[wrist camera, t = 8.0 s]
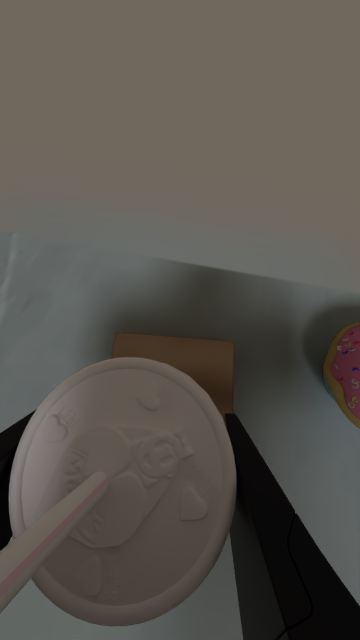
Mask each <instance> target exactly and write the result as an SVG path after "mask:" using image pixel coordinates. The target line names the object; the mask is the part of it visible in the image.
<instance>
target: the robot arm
mask: <svg viewBox="0 0 360 640" xmlns="http://www.w3.org/2000/svg"><path fill="white" fill-rule="evenodd" d="M36 410H37V409H36ZM36 410H35V411H36ZM35 411H33V412H32V413H30V414H29V415H27V416H26V417H24V418H23V419H21V420H20V421H18V422H17V423H15V424H13V425H12V426H10V427H9V428H7V429H6V430H4V431H3V432H1V433H0V551H1V550H2V549H3V548H4V547H6V546H7V545H8V543H9V541H10V539H11V537H12V535H13V533H12V529H11V523H10V515H9V484H10V476H11V470H12V465H13V461H14V457H15V454H16V450H17V447H18V445H19V442H20V439H21V437H22V435H23V433H24V430H25V428H26V426H27V424H28V423H29V421H30V419H31V417H32V416H33V414H34V413H35ZM223 421H224V424H225V427H226V430H227V432H228V435H229V438H230V441H231V445H232V449H233V454H234V460H235V467H236V500H235V508H234V514H233V518H232V523H231V527H230V538H231V546H232V554H233V562H234V570H235V577H236V585H237V593H238V601H239V609H240V617H241V624H242V632H243V640H360V606H359V604H358V603H357V602H356V600H355V599H354V598H353V596H352V595H351V593H350V592H349V591H348V589H347V588H346V586H345V585H344V584H343V582H342V581H341V579H340V578H339V577H338V575H337V574H336V572H335V571H334V570H333V568H332V567H331V565H330V564H329V562H328V561H327V560H326V558H325V557H324V555H323V554H322V552H321V551H320V549H319V548H318V546H317V545H316V543H315V542H314V540H313V539H312V537H311V535H310V534H309V532H308V531H307V529H306V528H305V526H304V524H303V523H302V521H301V519H300V518H299V516H298V515H297V514H296V513H295V510H294V508H293V507H292V505H291V503H290V502H289V500H288V498H287V497H286V495H285V494H284V492H283V490H282V489H281V487H280V485H279V484H278V482H277V481H276V479H275V477H274V476H273V474H272V472H271V471H270V469H269V468H268V466H267V464H266V463H265V461H264V459H263V458H262V456H261V455H260V453H259V451H258V450H257V448H256V446H255V445H254V443H253V442H252V440H251V438H250V437H249V435H248V433H247V432H246V430H245V429H244V427H243V425H242V424H241V422H240V420H239V419H238V417H237V416H236V415H235V414H232V413H225V414H224V418H223Z"/></svg>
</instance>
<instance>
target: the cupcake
mask: <svg viewBox="0 0 360 640" xmlns="http://www.w3.org/2000/svg"><path fill="white" fill-rule="evenodd" d="M323 379H324V384H325V387H326V389H327V391H328V393H329V394H330V396H331V397H332V398H333V399H334V400H335V401H336V402H337V404H338V405H339V407H340V409H341V410H342V412H343V413H344V414H345V415H346V417H347V418H348V419H349V420H350V421H351V422H352V423H353V424H354V425H355V426H357V427H358V428H360V322H357V323H353V324H350V325H347V326H346V327H344V328H343V329H341V330H340V331H339V332H338V333H337V335H336V336H335V338H334V339H333V341H332V343H331V345H330V348H329V350H328V353H327V356H326V359H325V362H324V366H323Z"/></svg>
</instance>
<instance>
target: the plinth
mask: <svg viewBox="0 0 360 640" xmlns="http://www.w3.org/2000/svg"><path fill="white" fill-rule="evenodd" d="M121 357H138V358H146V359H151V360H155V361H158V362H161V363H166V364H168V365H170V366H172V367H174V368H176V369H178V370H179V371H181V372H183V373H185V374H187V375H189V376H190V377H191V378H192V379H193V380H194V381H195V382H196V383H197V384H198V385H199V386H200V387H201V388H202V389H203V390H204V391H206V392H207V393H208V395H209V397H210V398H211V400H212V401H213V403H214V405H215V406H216V408H217V409H218V411H219V413H220V414H221V416H222V418H224V414H225V413H232V414H233V366H234V341H222V340H209V339H196V338H183V337H170V336H157V335H144V334H131V333H118V332H116V336H115V341H114V347H113V352H112V358H111V359H113V358H121Z"/></svg>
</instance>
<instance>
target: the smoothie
mask: <svg viewBox="0 0 360 640" xmlns="http://www.w3.org/2000/svg"><path fill="white" fill-rule="evenodd" d="M235 500H236V467H235V460H234V454H233V449H232V445H231V441H230V438H229V435H228V432H227V430H226V427H225V424H224V421H223V418H222V416H221V414H220V413H219V411H218V409H217V408H216V406H215V405H214V403H213V401H212V400H211V398H210V397H209V395H208V393H207V392H206V391H204V390H203V389H202V388H201V387H200V386H199V385H198V384H197V383H196V382H195V381H194V380H193V379H192V378H191V377H190V376H189V375H187V374H185V373H183V372H181V371H179V370H178V369H176V368H174V367H172V366H170V365H168V364H166V363H161V362H158V361H155V360H151V359H146V358H138V357H121V358H113V359H108V360H104V361H100V362H97V363H94V364H92V365H89V366H87V367H85V368H83V369H81V370H79V371H77V372H76V373H74V374H73V375H71V376H69V377H68V378H67V379H65V380H64V381H63V382H61V383H60V384H59V385H58V386H57V387H56V388H55V389H54V390H53V391H52V392H51V393H50V394H49V395H48V396H47V397H46V398H45V399H44V401H43V402H42V403H41V404H40V406H39V407H38V408H37V410H36V411H35V413H34V414H33V416H32V417H31V419H30V421H29V423H28V424H27V426H26V428H25V430H24V433H23V435H22V437H21V439H20V442H19V445H18V447H17V450H16V454H15V457H14V461H13V465H12V470H11V476H10V484H9V515H10V523H11V529H12V533H13V538H14V540H13V541H12V542H11V543H9V544H8V545H7V546H6V547H4V548H3V549H2V550H1V551H0V613H1V612H2V611H3V610H4V608H5V607H6V606H7V605H8V604H9V603H10V602H11V600H12V599H13V598H14V597H15V596H16V595H17V594H18V592H19V591H20V590H21V589H22V588H23V587H24V585H25V584H26V583H27V582H28V581H29V580H30V579H32V580H33V581H34V583H35V584H36V586H37V587H38V588H39V589H40V590H41V592H42V593H43V594H44V595H45V596H46V597H47V598H48V599H49V600H50V601H51V602H53V603H54V604H55V605H56V606H58V607H59V608H60V609H62V610H63V611H65V612H66V613H68V614H70V615H72V616H74V617H76V618H78V619H81V620H83V621H86V622H89V623H93V624H98V625H104V626H128V625H134V624H139V623H143V622H146V621H149V620H152V619H154V618H156V617H159V616H161V615H163V614H165V613H167V612H168V611H170V610H171V609H173V608H175V607H176V606H178V605H179V604H180V603H181V602H183V601H184V600H185V599H186V598H188V597H189V596H190V595H191V594H192V593H193V592H194V591H195V590H196V589H197V588H198V587H199V585H200V584H201V583H202V582H203V580H204V579H205V578H206V577H207V575H208V574H209V572H210V571H211V569H212V568H213V566H214V565H215V563H216V561H217V559H218V557H219V555H220V553H221V551H222V549H223V547H224V544H225V542H226V539H227V536H228V533H229V530H230V527H231V523H232V518H233V514H234V508H235Z"/></svg>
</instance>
